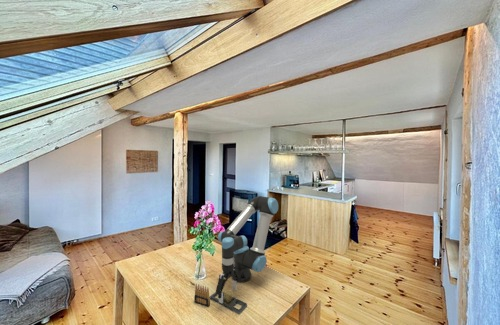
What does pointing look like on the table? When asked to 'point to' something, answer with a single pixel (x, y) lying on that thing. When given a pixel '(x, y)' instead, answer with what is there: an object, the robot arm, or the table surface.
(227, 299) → the block
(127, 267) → the table surface
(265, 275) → the table surface
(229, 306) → the grey slotted plate
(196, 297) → the ammunition clip
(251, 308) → the table surface
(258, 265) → the robot arm
